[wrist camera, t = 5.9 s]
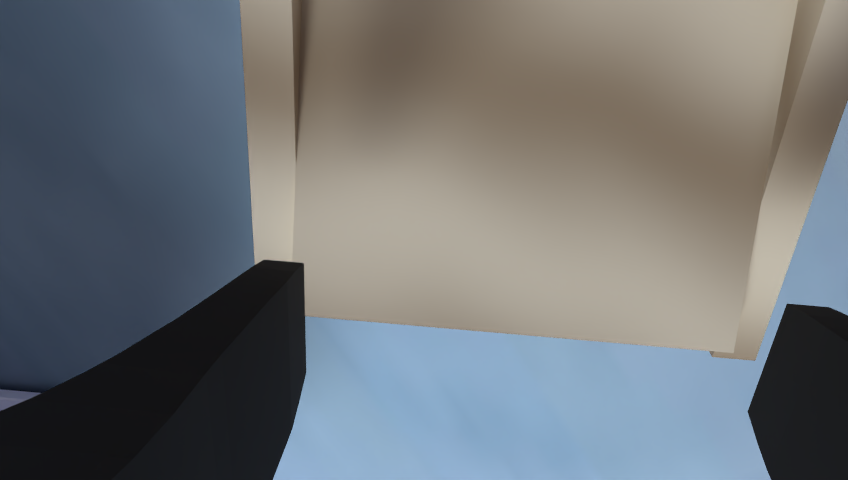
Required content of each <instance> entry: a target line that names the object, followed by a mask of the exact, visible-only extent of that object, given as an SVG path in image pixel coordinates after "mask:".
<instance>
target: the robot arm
mask: <svg viewBox="0 0 848 480" xmlns="http://www.w3.org/2000/svg"><path fill="white" fill-rule="evenodd" d="M305 375H306V344H305V291H304V263H299V262H287V261H275V260H263V261H261V262H259V263H257V264H256V265H254V266H253V267H251V268H250V269H248V270H247V271H245V272H244V273H243V274H241V275H240V276H238V277H237V278H235V279H234V280H232V281H231V282H230V283H228V284H227V285H225V286H224V287H222V288H221V289H220V290H218V291H217V292H215V293H214V294H212V295H211V296H209V297H208V298H206V299H205V300H203V301H202V302H201V303H199V304H198V305H196V306H195V307H193V308H192V309H190V310H189V311H187V312H186V313H184V314H183V315H181V316H180V317H178V318H177V319H175V320H174V321H172V322H170V323H169V324H167V325H165V326H164V327H162V328H160V329H159V330H157V331H155V332H154V333H152V334H151V335H149V336H147V337H146V338H144V339H142V340H141V341H139V342H137V343H136V344H134V345H132V346H131V347H129V348H127V349H126V350H124V351H122V352H121V353H119V354H117V355H116V356H114V357H112V358H110V359H108V360H107V361H105V362H103V363H101V364H99V365H97V366H95V367H93V368H92V369H90V370H88V371H86V372H84V373H82V374H80V375H78V376H76V377H74V378H72V379H70V380H68V381H66V382H64V383H62V384H60V385H57V386H55V387H53V388H51V389H49V390H47V391H45V392H43V393H35V392H24V391H13V390H2V389H0V480H273V477H274V475H275V472H276V470H277V467H278V464H279V462H280V459H281V457H282V454H283V452H284V449H285V446H286V444H287V441H288V438H289V436H290V433H291V430H292V427H293V423H294V419H295V416H296V412H297V408H298V404H299V400H300V396H301V391H302V387H303V383H304V379H305ZM748 413H749V417H750V420H751V423H752V426H753V430H754V433H755V436H756V439H757V443H758V446H759V448H760V451H761V454H762V457H763V460H764V462H765V465H766V468H767V471H768V473H769V475H770V478H771V480H848V316H847V315H845V314H843V313H841V312H838V311H836V310H834V309H832V308H829V307H819V306H807V305H795V304H787V305H786V308H785V311H784V313H783V316H782V319H781V322H780V324H779V327H778V330H777V333H776V335H775V338H774V341H773V344H772V346H771V349H770V352H769V355H768V357H767V360H766V363H765V366H764V368H763V371H762V374H761V377H760V379H759V382H758V385H757V388H756V390H755V393H754V396H753V399H752V401H751V404H750V407H749V410H748Z"/></svg>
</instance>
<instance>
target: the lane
mask: <svg viewBox="0 0 848 480" xmlns="http://www.w3.org/2000/svg"><path fill="white" fill-rule="evenodd" d="M240 13H241V31H242V48H243V66H244V84H245V101H246V119H247V136H248V154H249V171H250V189H251V207H252V224H253V242H254V259H255V265H256V264H257V263H259V262H261V261H263V260H275V261H287V262H299V263H304V291H305V316H310V317H322V318H333V319H345V320H356V321H368V322H379V323H391V324H403V325H414V326H426V327H437V328H449V329H460V330H472V331H484V332H495V333H507V334H518V335H530V336H542V337H553V338H565V339H576V340H588V341H599V342H611V343H623V344H634V345H646V346H657V347H669V348H680V349H692V350H704V351H709V352H710V354H711V355H712V357H719V358H731V359H743V360H754V361H755V360H756V357H757V354H758V351H759V348H760V346H761V343H762V340H763V337H764V334H765V331H766V329H767V326H768V323H769V320H770V317H771V315H772V312H773V309H774V306H775V303H776V300H777V298H778V295H779V292H780V289H781V286H782V284H783V281H784V278H785V275H786V272H787V269H788V267H789V264H790V261H791V258H792V255H793V253H794V250H795V247H796V244H797V241H798V238H799V236H800V233H801V230H802V227H803V224H804V222H805V219H806V216H807V213H808V210H809V207H810V205H811V202H812V199H813V196H814V193H815V191H816V188H817V185H818V182H819V179H820V176H821V174H822V171H823V168H824V165H825V162H826V159H827V157H828V154H829V151H830V148H831V145H832V143H833V140H834V137H835V134H836V131H837V128H838V126H839V123H840V120H841V117H842V114H843V112H844V109H845V106H846V103H847V100H848V0H240Z"/></svg>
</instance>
